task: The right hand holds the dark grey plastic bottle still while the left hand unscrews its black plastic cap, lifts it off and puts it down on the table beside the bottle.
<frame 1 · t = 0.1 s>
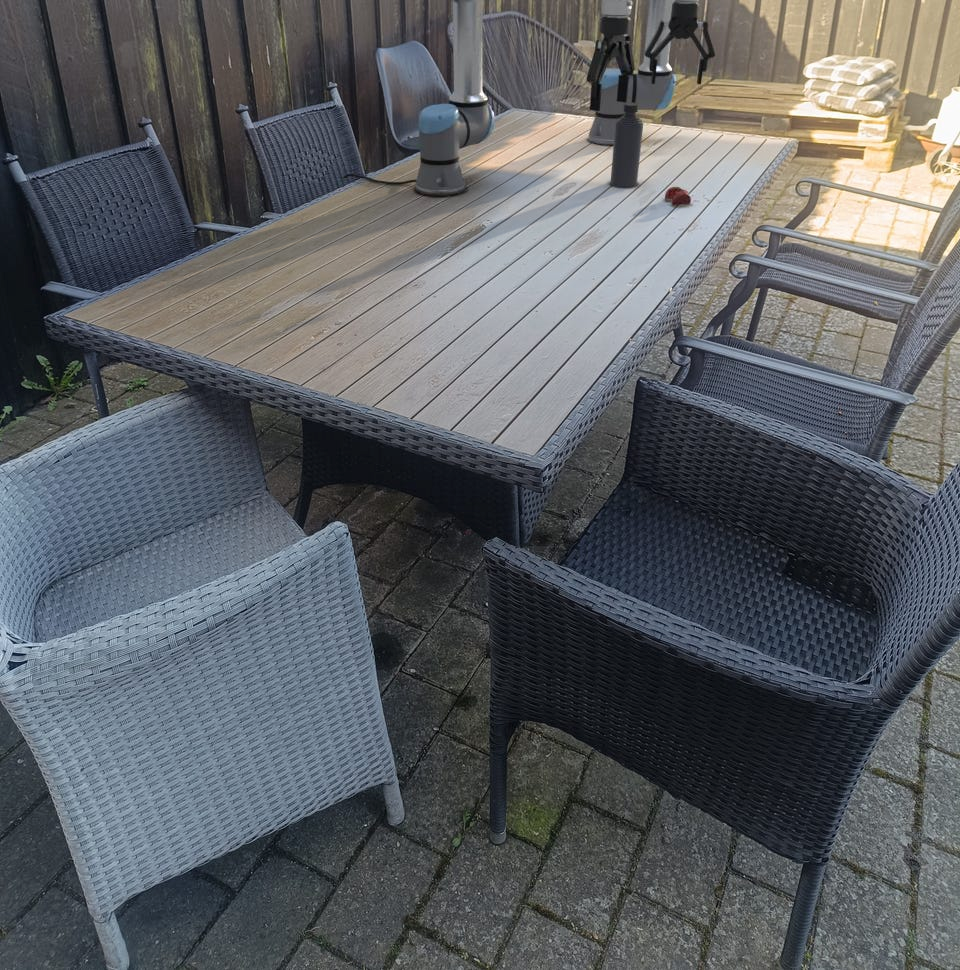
left hand: (608, 106, 226), 28 cm above the table, tool pointing down, fingers open, 13 cm apart
right hand: (675, 83, 251), 28 cm above the table, tool pointing down, fingers open, 13 cm apart
bottle: (623, 183, 264), on the table
cap: (631, 105, 250), point 23 cm above the table, screwed on, not yet turned
dental model: (677, 202, 248), on the table
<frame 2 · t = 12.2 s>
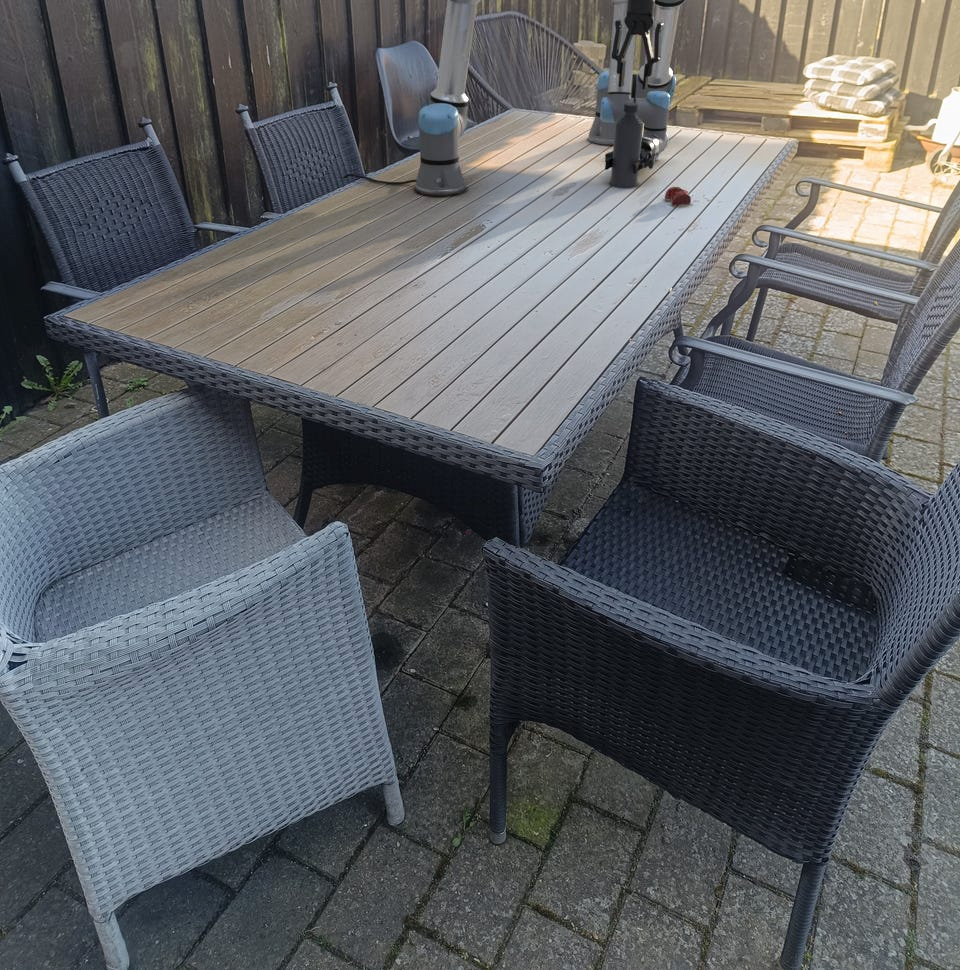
left hand: (632, 87, 247), 28 cm above the table, tool pointing down, fingers open, 7 cm apart
right hand: (620, 167, 257), 6 cm above the table, tool horizontal, fingers closed on bottle, 8 cm apart
bottle: (623, 183, 264), on the table, touching right hand
everything else where it was.
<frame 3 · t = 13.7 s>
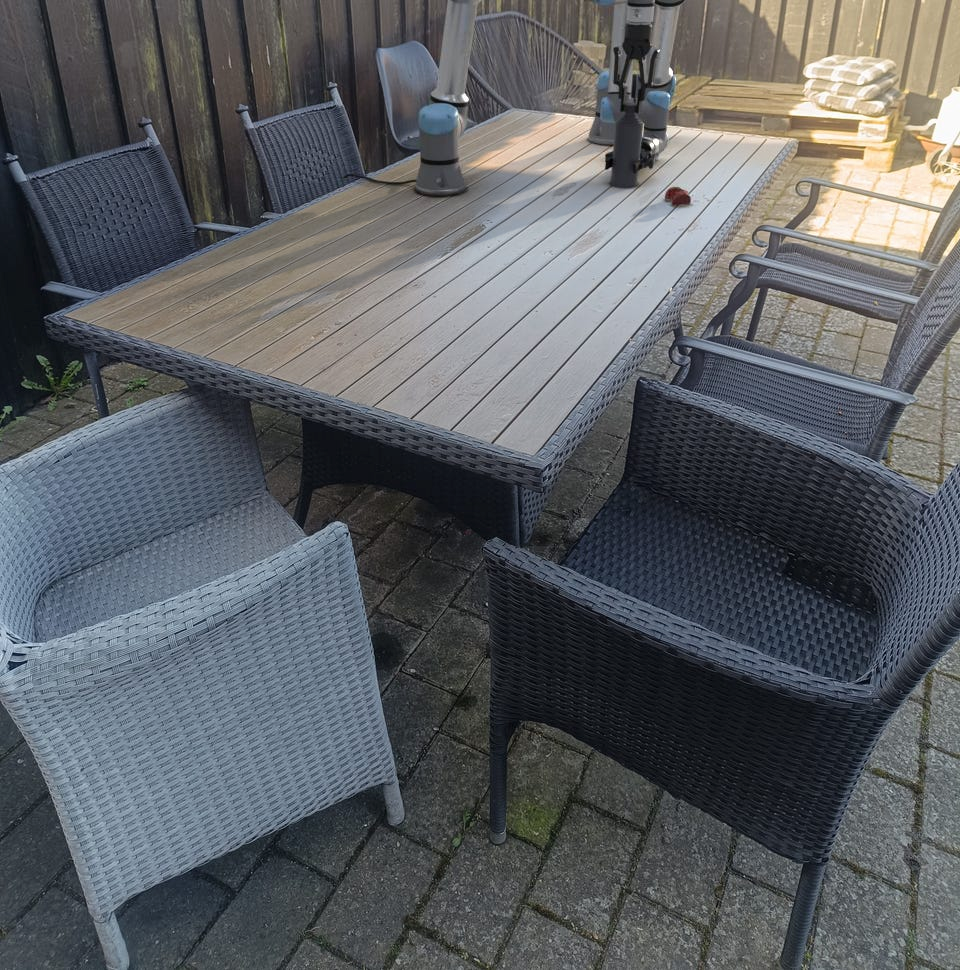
left hand: (630, 111, 251), 21 cm above the table, tool pointing down, fingers closed on cap, 4 cm apart
right hand: (620, 167, 257), 6 cm above the table, tool horizontal, fingers closed on bottle, 8 cm apart
bottle: (623, 183, 264), on the table, touching right hand
cap: (631, 105, 250), point 23 cm above the table, screwed on, not yet turned, touching left hand
everything else where it was.
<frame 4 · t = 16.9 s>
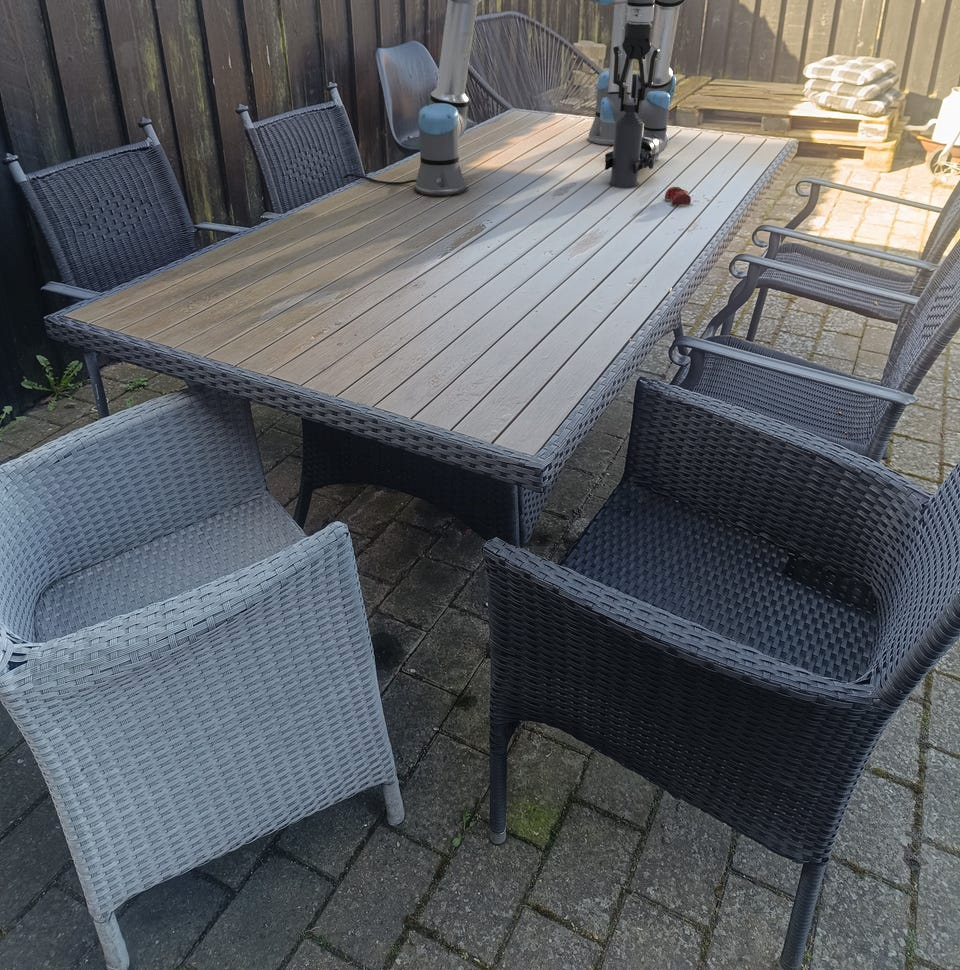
left hand: (630, 111, 251), 21 cm above the table, tool pointing down, fingers closed on cap, 4 cm apart
right hand: (620, 167, 257), 6 cm above the table, tool horizontal, fingers closed on bottle, 8 cm apart
bottle: (623, 183, 264), on the table, touching right hand
cap: (631, 104, 250), point 23 cm above the table, turned 86° so far, risen 0.1 cm, still on its thread, touching left hand
everything else where it was.
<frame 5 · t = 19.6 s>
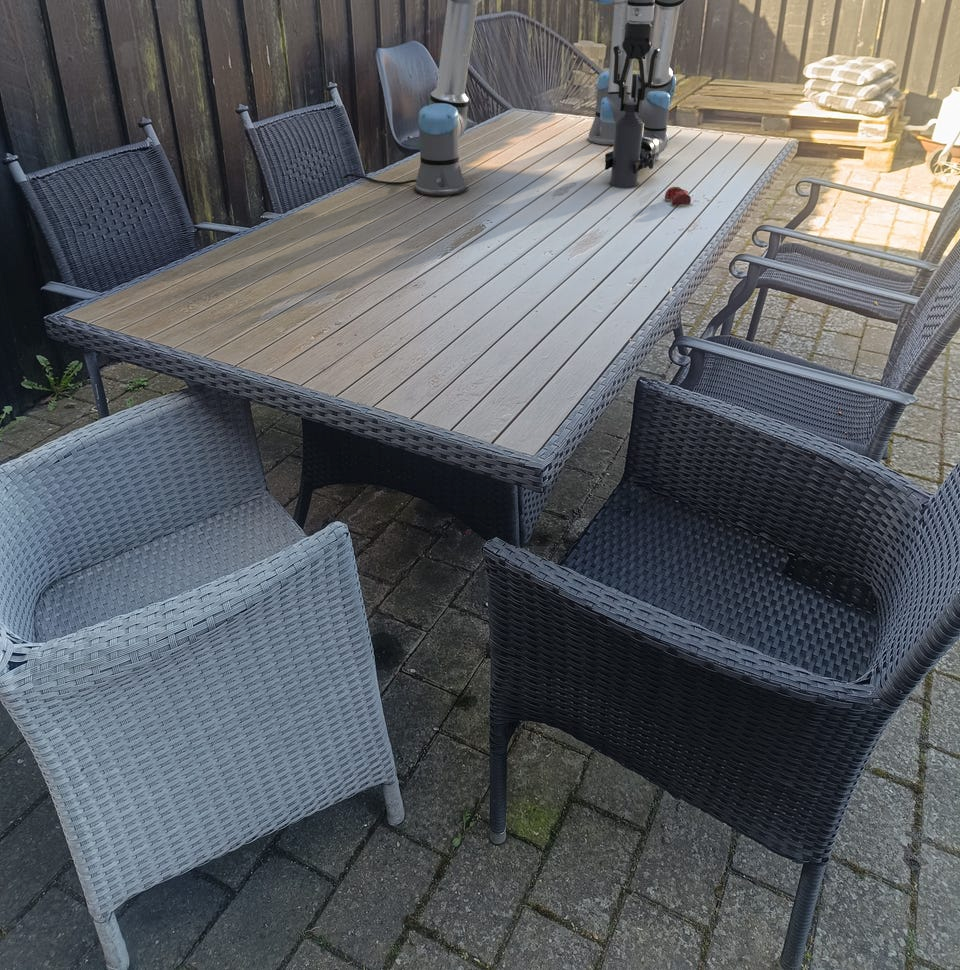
left hand: (630, 110, 251), 21 cm above the table, tool pointing down, fingers closed on cap, 4 cm apart
right hand: (620, 167, 257), 6 cm above the table, tool horizontal, fingers closed on bottle, 8 cm apart
bottle: (623, 183, 264), on the table, touching right hand
cap: (631, 104, 250), point 23 cm above the table, turned 172° so far, risen 0.2 cm, still on its thread, touching left hand
everything else where it was.
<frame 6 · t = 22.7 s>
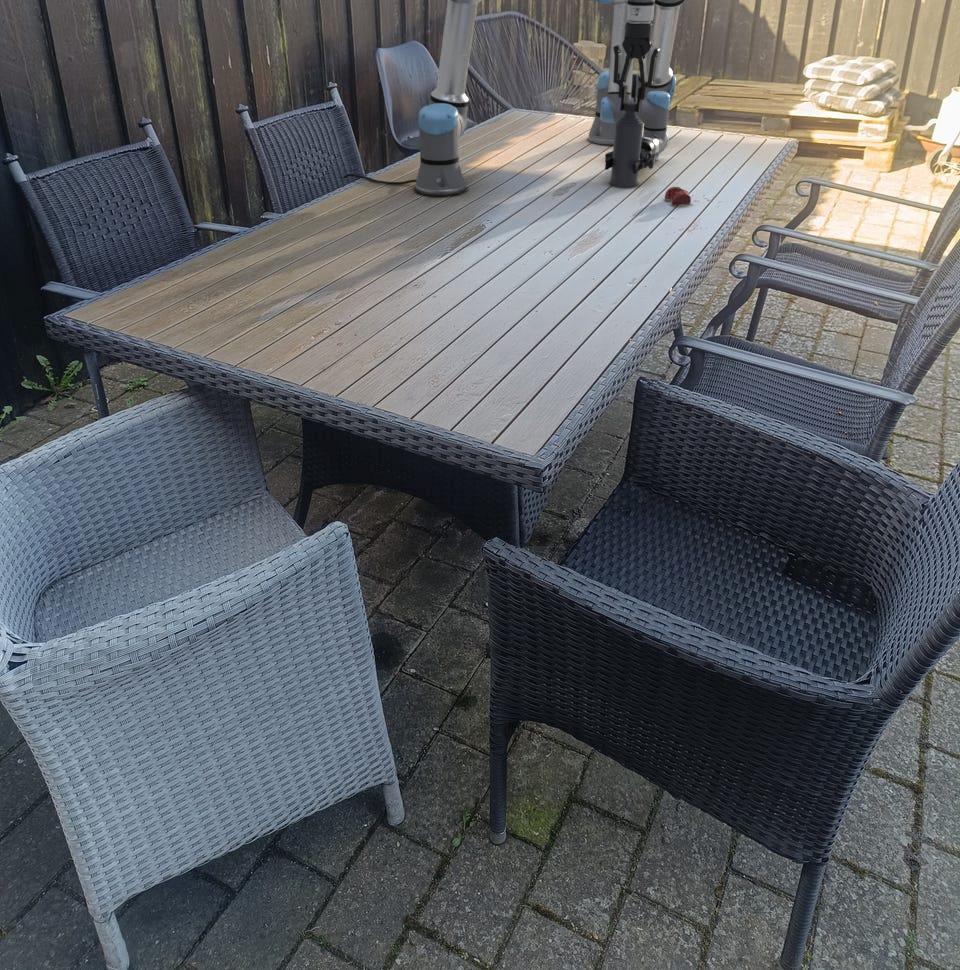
left hand: (630, 110, 251), 22 cm above the table, tool pointing down, fingers closed on cap, 4 cm apart
right hand: (620, 167, 257), 6 cm above the table, tool horizontal, fingers closed on bottle, 8 cm apart
bottle: (623, 183, 264), on the table, touching right hand
cap: (631, 104, 250), point 23 cm above the table, turned 258° so far, risen 0.3 cm, still on its thread, touching left hand
everything else where it was.
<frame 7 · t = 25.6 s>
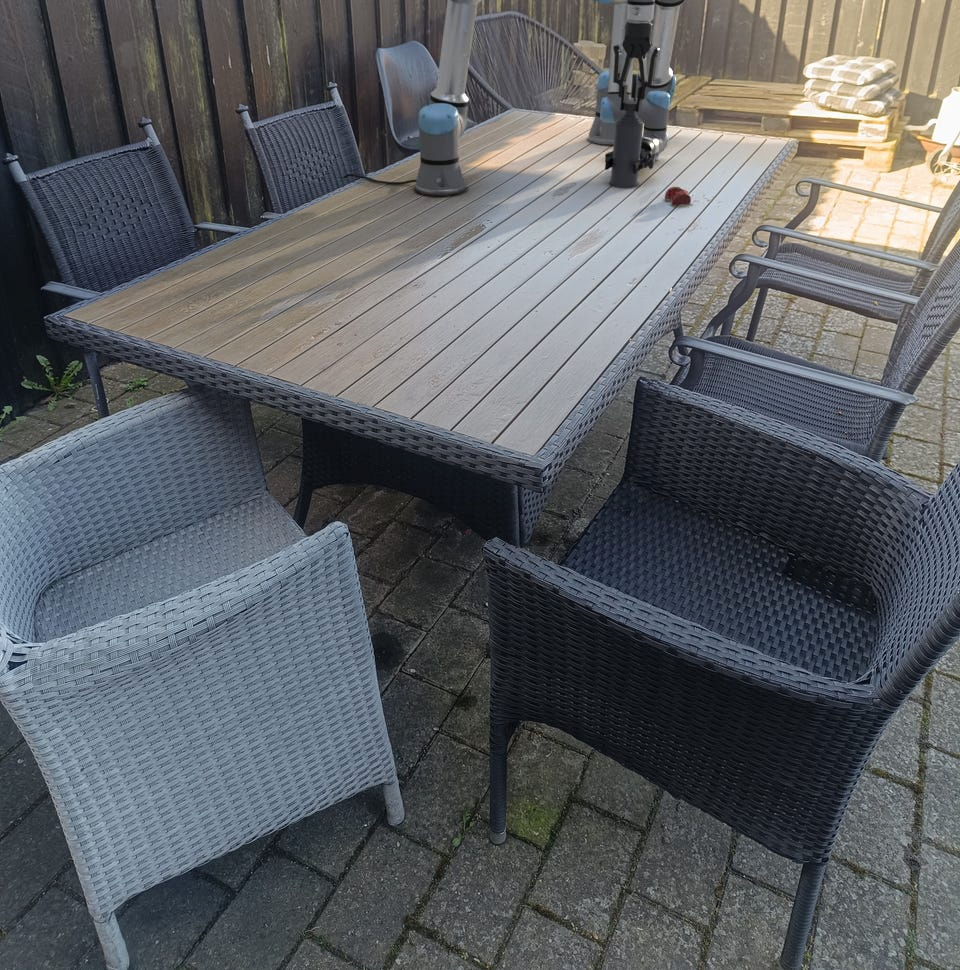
left hand: (630, 109, 251), 22 cm above the table, tool pointing down, fingers closed on cap, 4 cm apart
right hand: (620, 167, 257), 6 cm above the table, tool horizontal, fingers closed on bottle, 8 cm apart
bottle: (623, 183, 264), on the table, touching right hand
cap: (631, 103, 250), point 23 cm above the table, turned 345° so far, risen 0.4 cm, still on its thread, touching left hand
everything else where it was.
when the left hand's fingers open (1 cm above the table, at t = 36.5 s): cap drops 1 cm, point 2 cm above the table.
when the right hand's fingers open (6 cm above the table, at t = 37.8 s): bottle stays where it is, on the table.
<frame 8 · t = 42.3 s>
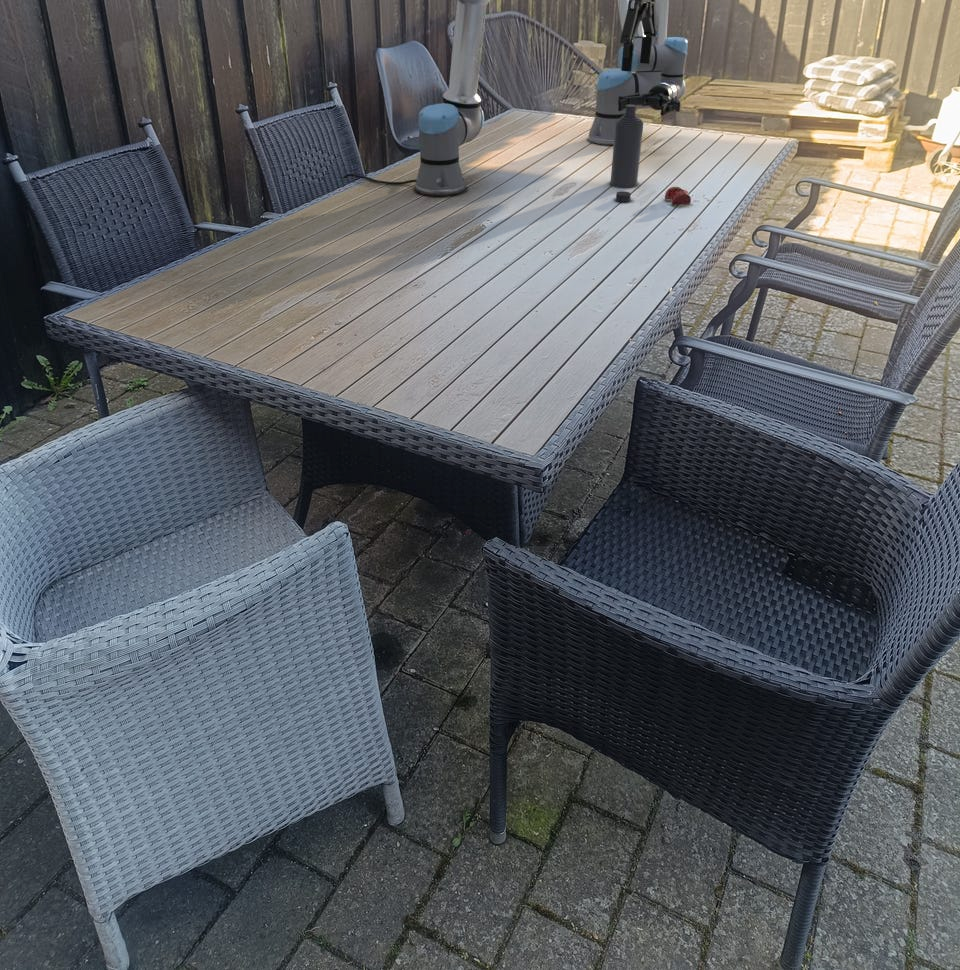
left hand: (635, 67, 229), 36 cm above the table, tool pointing down, fingers open, 13 cm apart
right hand: (640, 108, 259), 20 cm above the table, tool horizontal, fingers open, 13 cm apart
bottle: (623, 183, 264), on the table
cap: (623, 194, 249), point 2 cm above the table, off its thread
everything else where it was.
at the end: cap came off its thread; cap point 1.7 cm above the table; the left hand is holding nothing; the right hand is holding nothing; bottle tilted 0°; bottle moved 0.0 cm from its start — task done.
